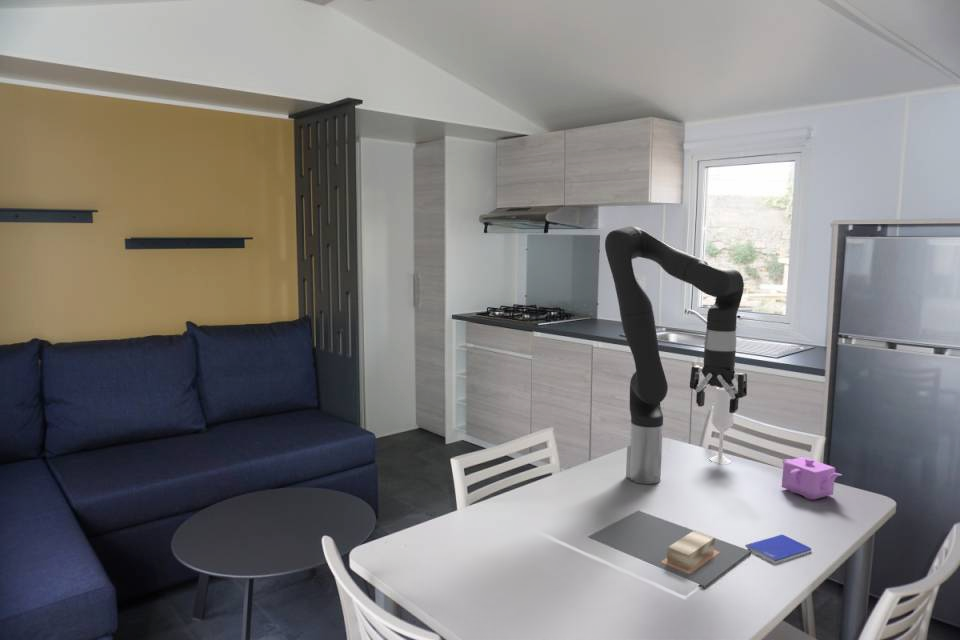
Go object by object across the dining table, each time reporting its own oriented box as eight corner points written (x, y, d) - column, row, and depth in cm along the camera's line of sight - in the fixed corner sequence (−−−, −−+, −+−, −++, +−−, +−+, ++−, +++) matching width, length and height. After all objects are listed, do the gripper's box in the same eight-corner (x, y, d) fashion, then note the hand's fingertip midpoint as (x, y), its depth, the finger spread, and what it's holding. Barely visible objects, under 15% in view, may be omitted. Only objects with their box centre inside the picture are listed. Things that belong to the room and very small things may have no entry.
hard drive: (775, 559, 145) (811, 547, 150) (745, 543, 152) (781, 533, 158) (774, 566, 145) (811, 554, 151) (744, 550, 152) (780, 539, 158)
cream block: (693, 544, 152) (694, 530, 152) (713, 552, 149) (714, 537, 148) (667, 562, 144) (667, 547, 143) (687, 570, 140) (688, 555, 140)
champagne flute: (708, 462, 209) (712, 389, 206) (709, 456, 215) (713, 385, 212) (730, 465, 207) (735, 391, 203) (731, 458, 213) (735, 387, 210)
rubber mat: (587, 539, 156) (587, 536, 156) (638, 512, 171) (638, 510, 171) (704, 588, 135) (704, 585, 134) (750, 553, 150) (751, 550, 150)
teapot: (853, 502, 179) (857, 466, 178) (821, 511, 173) (824, 475, 172) (795, 479, 195) (798, 447, 194) (764, 487, 189) (766, 454, 187)
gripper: (754, 349, 163) (749, 412, 165) (701, 342, 173) (697, 401, 175) (740, 353, 158) (736, 417, 160) (686, 345, 168) (683, 406, 170)
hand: (716, 409), depth 168 cm, fingers open, 8 cm apart
